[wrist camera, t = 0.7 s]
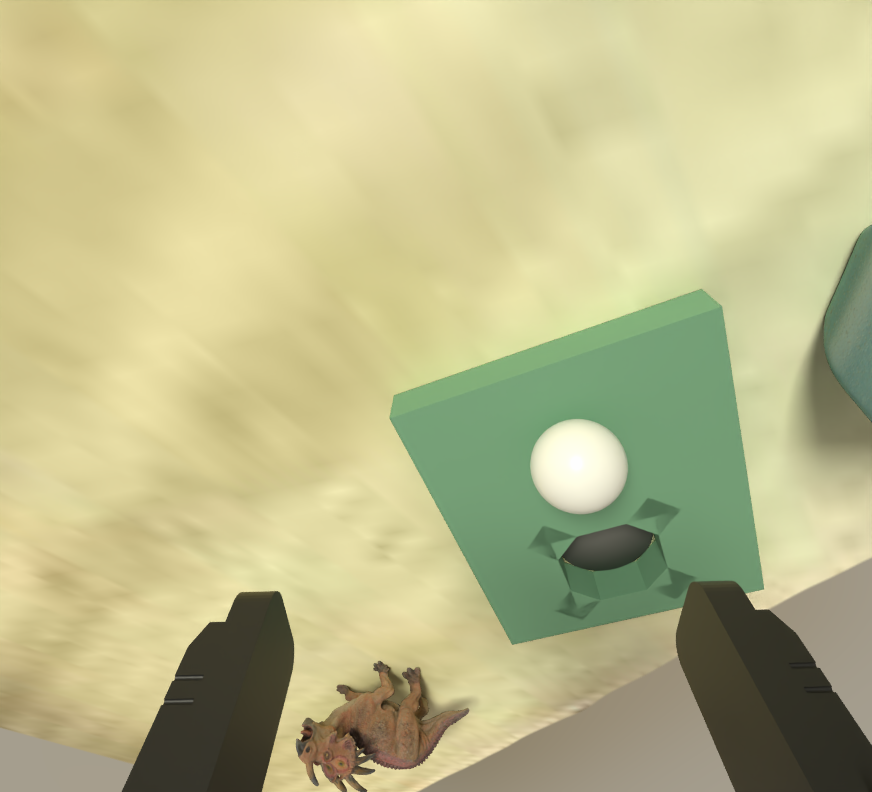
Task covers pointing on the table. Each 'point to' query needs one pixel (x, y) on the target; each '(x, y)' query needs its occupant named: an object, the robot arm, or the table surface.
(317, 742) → the dinosaur figurine
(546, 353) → the putting mat
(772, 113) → the table surface
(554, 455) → the ball
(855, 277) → the flower pot
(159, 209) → the table surface
